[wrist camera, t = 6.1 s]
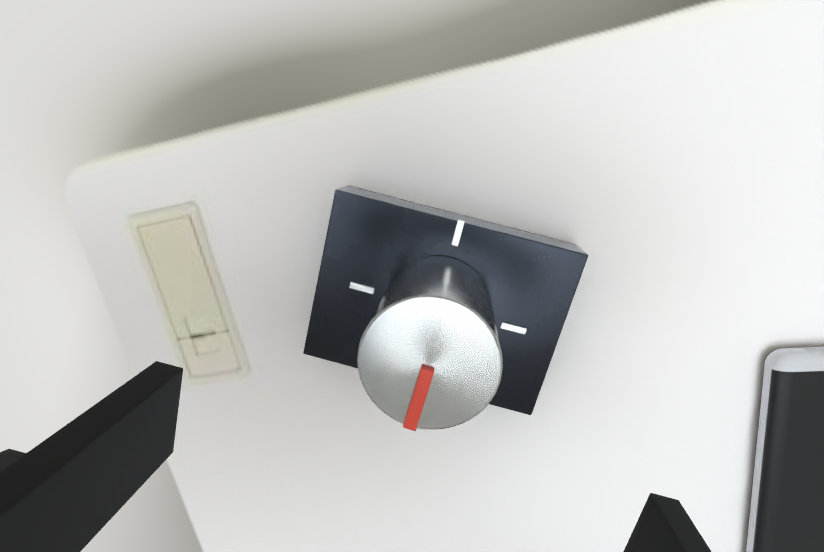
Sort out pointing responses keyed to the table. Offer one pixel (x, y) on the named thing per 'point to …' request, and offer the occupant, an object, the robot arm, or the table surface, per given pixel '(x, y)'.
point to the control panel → (456, 238)
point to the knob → (432, 346)
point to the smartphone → (790, 455)
